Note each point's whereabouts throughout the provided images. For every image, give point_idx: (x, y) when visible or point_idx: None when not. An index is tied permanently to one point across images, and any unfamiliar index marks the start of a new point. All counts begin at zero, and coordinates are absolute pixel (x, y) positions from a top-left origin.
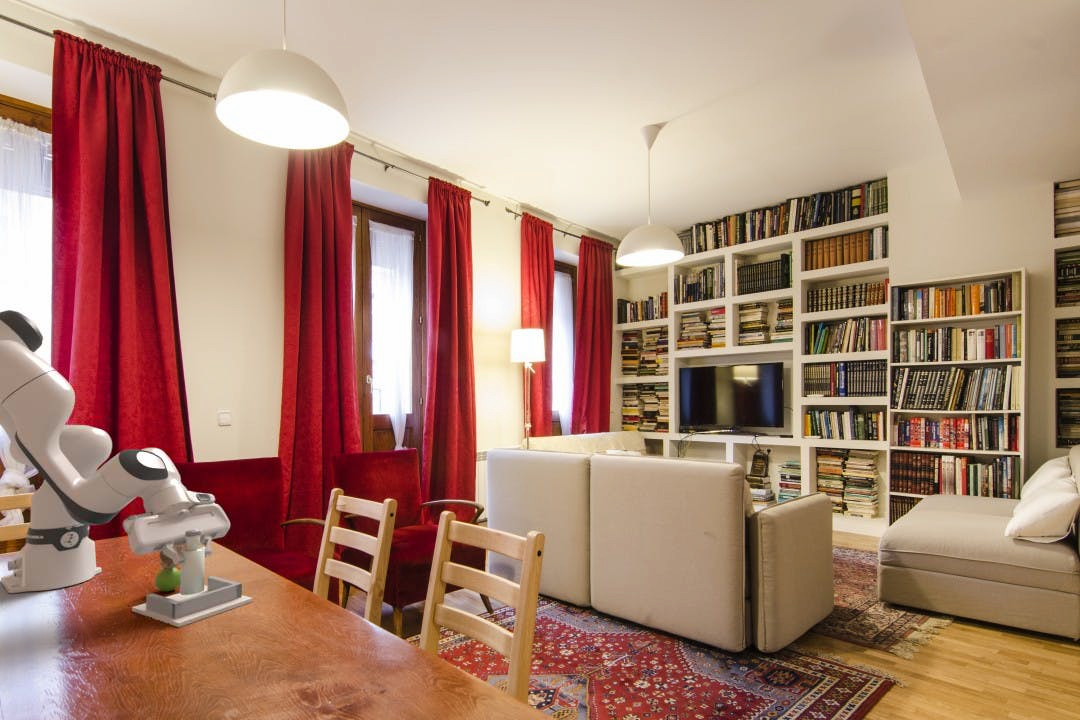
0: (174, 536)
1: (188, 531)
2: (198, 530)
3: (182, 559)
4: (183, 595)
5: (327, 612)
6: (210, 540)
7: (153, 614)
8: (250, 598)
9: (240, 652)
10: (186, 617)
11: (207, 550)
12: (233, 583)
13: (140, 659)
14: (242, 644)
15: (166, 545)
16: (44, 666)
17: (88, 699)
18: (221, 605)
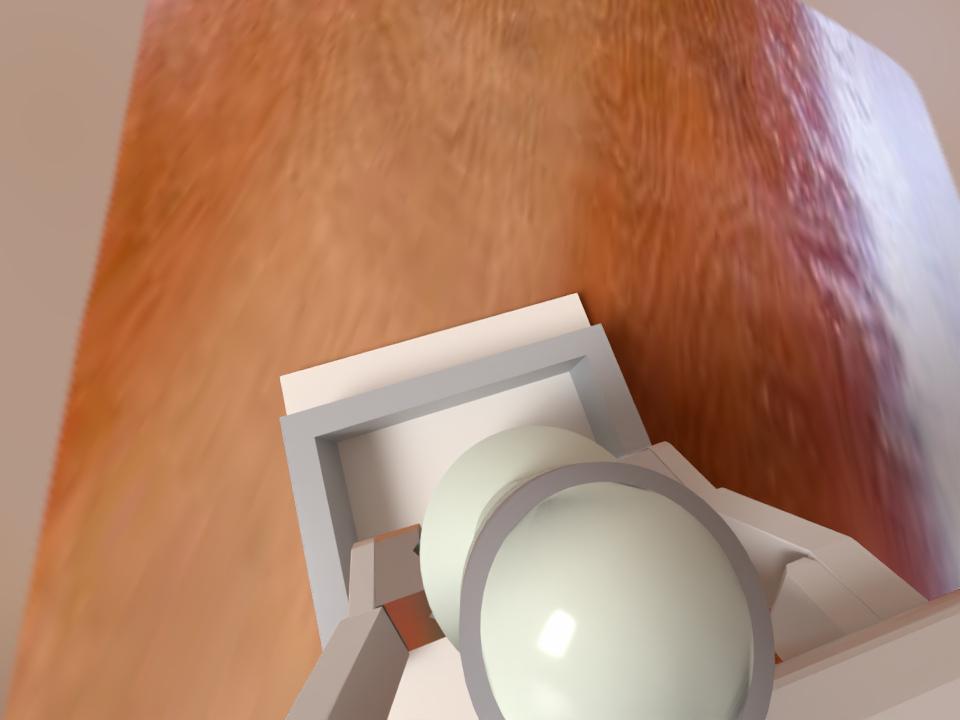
0: (908, 695)
1: (710, 680)
2: (512, 612)
3: (625, 456)
4: None
5: (168, 101)
6: (299, 706)
7: None
8: (288, 378)
9: (473, 23)
10: (546, 331)
11: (393, 547)
12: (309, 452)
13: (684, 137)
14: (454, 59)
15: (891, 573)
16: (909, 258)
17: (775, 23)
18: (408, 375)
